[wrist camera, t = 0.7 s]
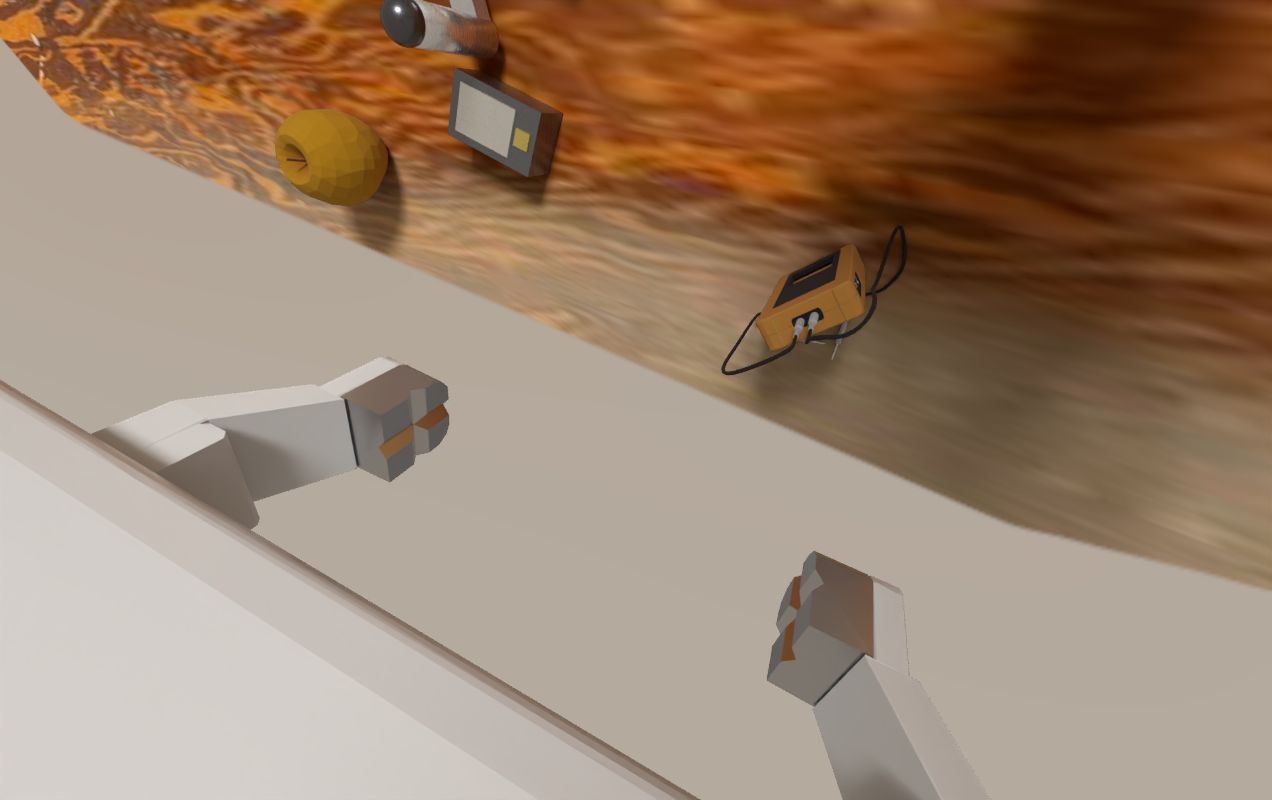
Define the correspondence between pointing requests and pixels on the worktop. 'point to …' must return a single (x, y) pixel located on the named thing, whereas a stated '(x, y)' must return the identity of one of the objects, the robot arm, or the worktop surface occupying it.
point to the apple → (331, 156)
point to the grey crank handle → (441, 26)
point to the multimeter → (817, 302)
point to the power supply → (503, 122)
